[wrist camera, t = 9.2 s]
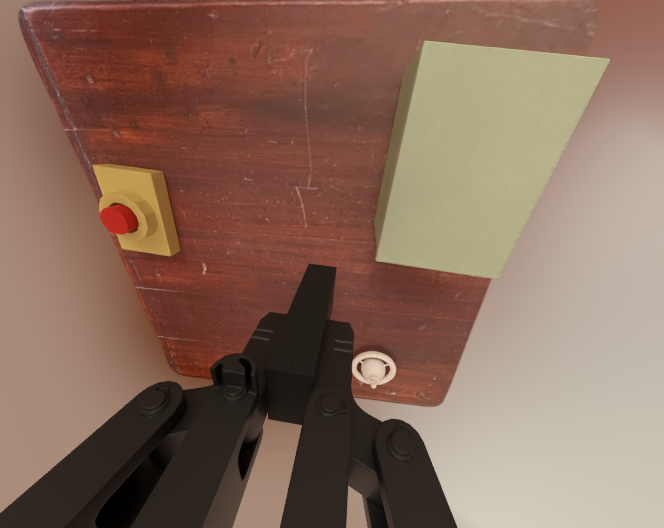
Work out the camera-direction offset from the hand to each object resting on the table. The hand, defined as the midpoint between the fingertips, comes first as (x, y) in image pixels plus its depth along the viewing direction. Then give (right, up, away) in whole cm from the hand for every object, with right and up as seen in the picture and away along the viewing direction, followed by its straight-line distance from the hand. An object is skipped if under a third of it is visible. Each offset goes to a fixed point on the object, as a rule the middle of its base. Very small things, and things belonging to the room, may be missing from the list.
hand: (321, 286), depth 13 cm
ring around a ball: (+8, -17, +31) cm, 36 cm away
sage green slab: (+12, +8, +7) cm, 16 cm away
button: (-27, +8, +19) cm, 34 cm away
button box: (-27, +9, +22) cm, 36 cm away
